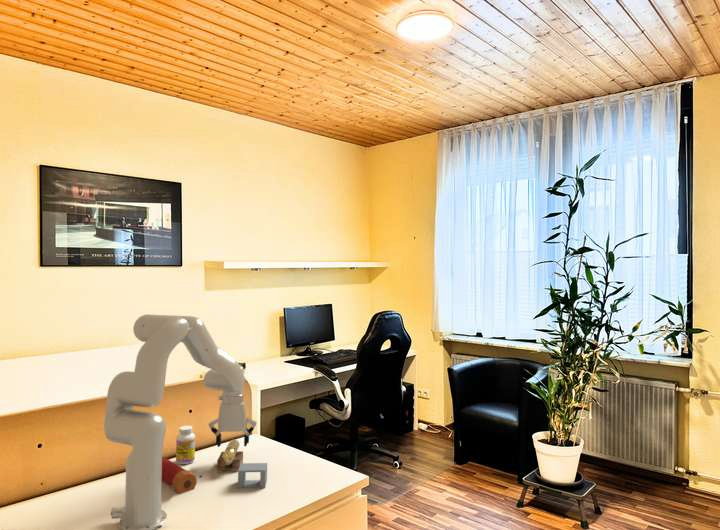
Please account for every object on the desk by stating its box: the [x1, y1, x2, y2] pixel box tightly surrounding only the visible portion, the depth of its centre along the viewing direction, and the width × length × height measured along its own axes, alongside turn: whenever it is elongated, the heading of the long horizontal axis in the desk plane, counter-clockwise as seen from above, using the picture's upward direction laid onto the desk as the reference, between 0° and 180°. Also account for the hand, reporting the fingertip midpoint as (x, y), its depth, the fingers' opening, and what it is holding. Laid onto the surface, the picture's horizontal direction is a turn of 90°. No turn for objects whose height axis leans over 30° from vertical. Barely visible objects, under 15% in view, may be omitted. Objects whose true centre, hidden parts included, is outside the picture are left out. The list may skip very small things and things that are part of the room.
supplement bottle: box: [175, 425, 196, 465], centre depth 190 cm, size 7×7×13 cm
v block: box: [216, 450, 244, 473], centre depth 184 cm, size 8×8×5 cm
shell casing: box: [162, 457, 198, 495], centre depth 171 cm, size 7×20×7 cm, turn 44°
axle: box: [221, 439, 240, 465], centre depth 184 cm, size 14×4×4 cm, turn 4°
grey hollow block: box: [237, 462, 268, 489], centre depth 169 cm, size 6×9×7 cm
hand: (232, 445), depth 188 cm, fingers open, 9 cm apart
